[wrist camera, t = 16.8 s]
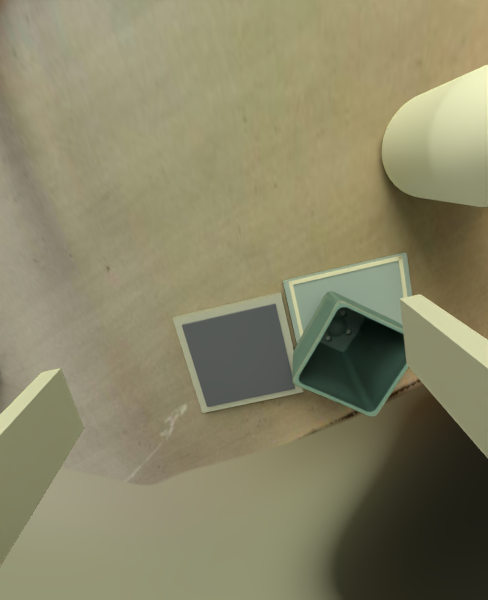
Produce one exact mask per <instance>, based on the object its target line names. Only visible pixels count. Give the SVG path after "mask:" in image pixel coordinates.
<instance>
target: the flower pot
mask: <svg viewBox="0 0 488 600" xmlns="http://www.w3.org/2000/svg"><path fill="white" fill-rule="evenodd" d="M342 311H345V313H346V314H345V315H341V312H342ZM347 330H351V332H350V333H349V334H347V333H346V331H347ZM327 336H330V337H331V339H330V340H326V337H327ZM408 368H409V367H408V365H407V362H406V353H405V344H404V334H403V325H401V324H400V323H398V322H397V321H395V320H393V319H391V318H388V317H386V316H384V315H382V314H380V313H378V312H376V311H373V310H371V309H369V308H367V307H365V306H363V305H361V304H359V303H356V302H354V301H352V300H350V299H348V298H346V297H344V296H342V295H339V294H337V293H335V292H332V291H329V292H327V293H326V294H325V296H324V297H323V299H322V301H321V303H320V305H319V306H318V308H317V310H316V312H315V314H314V315H313V317H312V319H311V321H310V322H309V324H308V326H307V328H306V329H305V331H304V333H303V335H302V336H301V338H300V340H299V342H298V343H297V345H296V347H295V350H294V353H293V383H294V384H295V385H296V386H298V387H301V388H303V389H306V390H308V391H310V392H313V393H315V394H318V395H320V396H323V397H325V398H328V399H330V400H332V401H335V402H337V403H340V404H342V405H344V406H347V407H349V408H351V409H353V410H356V411H358V412H360V413H362V414H364V415H366V416H371V417H374V416H376V415H377V414H378V413H379V411H380V410H381V408H382V407H383V405H384V404H385V402H386V401H387V399H388V398H389V396H390V395H391V393H392V391H393V390H394V389H395V387H396V385H397V384H398V383H399V381H400V379H401V378H402V377H403V375H404V373H405V372H406V370H407V369H408Z"/></svg>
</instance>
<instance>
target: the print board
mask: <svg viewBox="0 0 488 600" xmlns="http://www.w3.org/2000/svg"><path fill="white" fill-rule="evenodd" d="M283 284H284V289H285V293H286V298H287V302H288V307H289V311H290V316H291V320H292V325H293V329H294V333H295V338H296V342H297V343H298V342H299V340H300V338H301V336H302V335H303V333H304V331H305V329H306V328H307V326H308V324H309V322H310V321H311V319H312V317H313V315H314V314H315V312H316V310H317V308H318V306H319V305H320V303H321V301H322V299H323V297H324V296H325V294H326V293H327V292H329V291H332V292H335V293H337V294H339V295H342V296H344V297H346V298H348V299H350V300H352V301H354V302H356V303H359V304H361V305H363V306H365V307H367V308H369V309H371V310H373V311H376V312H378V313H380V314H382V315H384V316H386V317H388V318H391V319H393V320H395V321H397V322H398V323H400V324H401V325H402V315H401V306H400V298H405V297H410V296H412V290H411V283H410V275H409V267H408V259H407V254H406V253H404V252H403V253H399V254H395V255H390V256H386V257H382V258H377V259H373V260H369V261H364V262H360V263H356V264H352V265H347V266H343V267H339V268H334V269H330V270H326V271H321V272H317V273H313V274H309V275H304V276H300V277H296V278H291V279H287V280H283ZM345 314H346V313H345V311H342V312H341V315H345ZM350 332H351V330H347V331H346V333H347V334H349V333H350ZM330 339H331V337H330V336H327V337H326V340H330Z"/></svg>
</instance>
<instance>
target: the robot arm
mask: <svg viewBox="0 0 488 600" xmlns="http://www.w3.org/2000/svg"><path fill="white" fill-rule="evenodd" d="M400 306H401V315H402V325H403V334H404V344H405V353H406V362H407V365H408V367H409V368H410V369H411V370H412V371H413V372H414V374H415V375H416V376H417V377H418V378H419V379H420V381H421V382H422V383H423V384H424V385H425V386H426V387H427V389H428V390H429V391H430V392H431V393H432V394H433V396H434V397H436V399H437V400H438V401H439V402H440V404H441V405H442V406H443V407H444V408H445V409H446V411H447V412H448V413H449V414H450V415H451V416H452V418H453V419H454V420H455V421H456V422H457V423H458V424H459V425H460V426H461V428H462V429H463V430H464V431H465V433H466V434H467V435H468V436H469V437H470V438H471V439H472V441H473V442H474V443H475V444H476V445H477V446H478V447H479V449H480V450H481V451H482V452H483V453H484V454H485V456H486V457H487V458H488V340H487V339H486V338H484V337H483V336H481V335H480V334H478V333H477V332H475V331H474V330H472V329H471V328H469V327H468V326H466V325H465V324H464V323H462V322H461V321H459V320H458V319H456V318H455V317H453V316H452V315H450V314H449V313H447V312H446V311H444V310H443V309H441V308H440V307H438V306H437V305H436V304H434V303H433V302H431V301H430V300H428V299H427V298H425V297H424V296H422V295H421V294H419V295H414V296H410V297H405V298H400ZM83 429H84V426H83V424H82V421H81V418H80V416H79V413H78V411H77V408H76V406H75V403H74V401H73V398H72V395H71V393H70V390H69V388H68V385H67V383H66V380H65V378H64V375H63V372H62V370H61V368H60V369H55V370H50V371H45V372H42V373H41V374H40V375H39V376H38V377H37V378H36V379H35V380H34V381H33V382H32V383H31V384H30V385H29V386H28V387H27V388H26V389H25V390H24V391H23V392H22V393H21V394H20V395H19V396H18V397H17V398H16V399H15V400H14V401H13V402H12V403H11V404H10V405H9V406H8V407H7V408H6V409H5V410H4V411H3V412H2V413H1V414H0V566H1V565H2V563H3V561H4V560H5V558H6V557H7V555H8V553H9V552H10V550H11V548H12V546H13V545H14V543H15V542H16V540H17V538H18V537H19V535H20V533H21V532H22V530H23V528H24V526H25V525H26V524H27V522H28V520H29V519H30V517H31V515H32V514H33V512H34V510H35V509H36V507H37V505H38V504H39V502H40V500H41V499H42V497H43V495H44V494H45V492H46V490H47V489H48V487H49V485H50V484H51V482H52V480H53V479H54V477H55V476H56V474H57V472H58V470H59V469H60V467H61V466H62V464H63V462H64V461H65V459H66V457H67V456H68V454H69V452H70V451H71V449H72V447H73V446H74V444H75V443H76V441H77V439H78V438H79V436H80V434H81V433H82V431H83Z"/></svg>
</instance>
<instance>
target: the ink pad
mask: <svg viewBox="0 0 488 600" xmlns="http://www.w3.org/2000/svg"><path fill="white" fill-rule="evenodd" d="M173 321H174V324H175V327H176V331H177V334H178V337H179V340H180V343H181V346H182V350H183V353H184V356H185V359H186V362H187V365H188V369H189V372H190V375H191V378H192V381H193V384H194V388H195V391H196V394H197V397H198V400H199V403H200V406H201V410H202V413H205V412H210V411H215V410H220V409H225V408H229V407H234V406H239V405H244V404H249V403H253V402H258V401H263V400H268V399H273V398H277V397H282V396H287V395H292V394H297V393H301V392H303V388H301V387H298V386H296V385H295V384H294V383H293V353H294V349H293V345H292V340H291V336H290V331H289V327H288V323H287V318H286V314H285V309H284V305H283V301H282V296H281V292H278V293H274V294H270V295H265V296H261V297H257V298H252V299H248V300H244V301H239V302H235V303H231V304H226V305H222V306H217V307H213V308H209V309H204V310H200V311H196V312H191V313H187V314H183V315H178V316H175V317H174V318H173Z"/></svg>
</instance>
